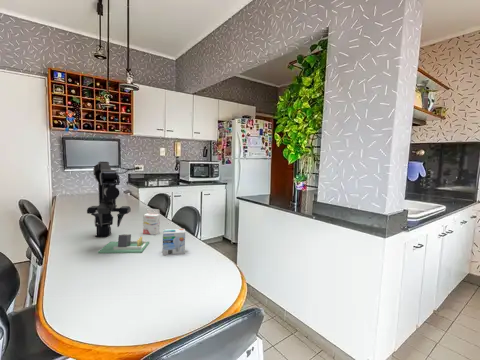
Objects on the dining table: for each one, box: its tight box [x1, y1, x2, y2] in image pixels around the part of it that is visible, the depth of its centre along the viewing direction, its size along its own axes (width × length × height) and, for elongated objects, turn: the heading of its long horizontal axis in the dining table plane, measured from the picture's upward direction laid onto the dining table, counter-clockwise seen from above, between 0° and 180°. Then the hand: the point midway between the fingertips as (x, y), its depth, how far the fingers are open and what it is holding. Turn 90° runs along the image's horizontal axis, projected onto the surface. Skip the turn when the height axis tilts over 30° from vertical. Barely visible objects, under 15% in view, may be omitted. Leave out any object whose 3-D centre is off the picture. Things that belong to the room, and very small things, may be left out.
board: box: [97, 236, 150, 254], centre depth 126 cm, size 20×14×5 cm
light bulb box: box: [162, 228, 186, 256], centre depth 122 cm, size 11×7×11 cm, turn 105°
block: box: [117, 233, 132, 247], centre depth 125 cm, size 4×6×6 cm, turn 6°
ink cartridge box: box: [142, 208, 161, 236], centre depth 150 cm, size 9×5×15 cm, turn 84°
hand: (109, 226), depth 124 cm, fingers open, 8 cm apart
